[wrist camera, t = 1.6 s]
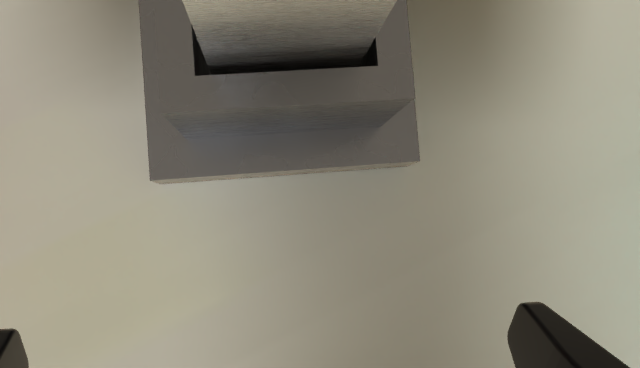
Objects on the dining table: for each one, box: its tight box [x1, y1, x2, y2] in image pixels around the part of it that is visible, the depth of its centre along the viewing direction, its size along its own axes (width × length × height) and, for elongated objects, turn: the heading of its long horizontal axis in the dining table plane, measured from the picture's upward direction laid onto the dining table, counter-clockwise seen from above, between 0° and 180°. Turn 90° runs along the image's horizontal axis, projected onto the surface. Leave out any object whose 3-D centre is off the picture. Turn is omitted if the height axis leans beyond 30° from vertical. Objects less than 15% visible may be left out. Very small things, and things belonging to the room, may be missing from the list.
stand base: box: [139, 0, 420, 184], centre depth 19 cm, size 10×10×8 cm
